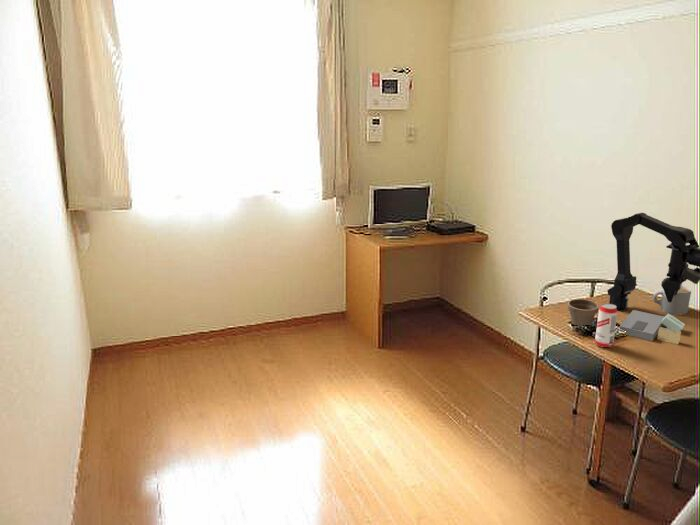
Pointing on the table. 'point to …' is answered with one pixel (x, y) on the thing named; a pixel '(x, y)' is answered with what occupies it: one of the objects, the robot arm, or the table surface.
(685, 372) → the table surface
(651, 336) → the housing
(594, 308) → the flower pot
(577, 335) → the table surface
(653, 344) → the table surface
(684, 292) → the coffee mug
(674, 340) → the gold faceted block
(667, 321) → the cover
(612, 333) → the beer can
